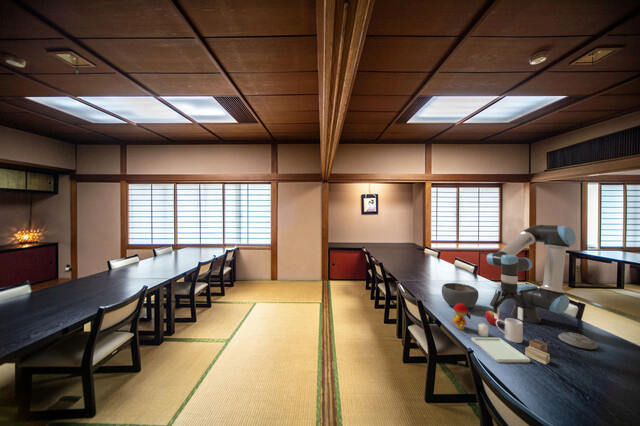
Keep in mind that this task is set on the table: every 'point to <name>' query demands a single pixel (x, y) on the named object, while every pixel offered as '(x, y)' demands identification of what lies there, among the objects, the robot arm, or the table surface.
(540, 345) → the walnut cube
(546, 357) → the maple block
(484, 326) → the round-ended white cylinder
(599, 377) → the table surface
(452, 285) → the bowl
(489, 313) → the apple
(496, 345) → the tray
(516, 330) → the mug
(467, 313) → the toy
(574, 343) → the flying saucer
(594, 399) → the table surface
